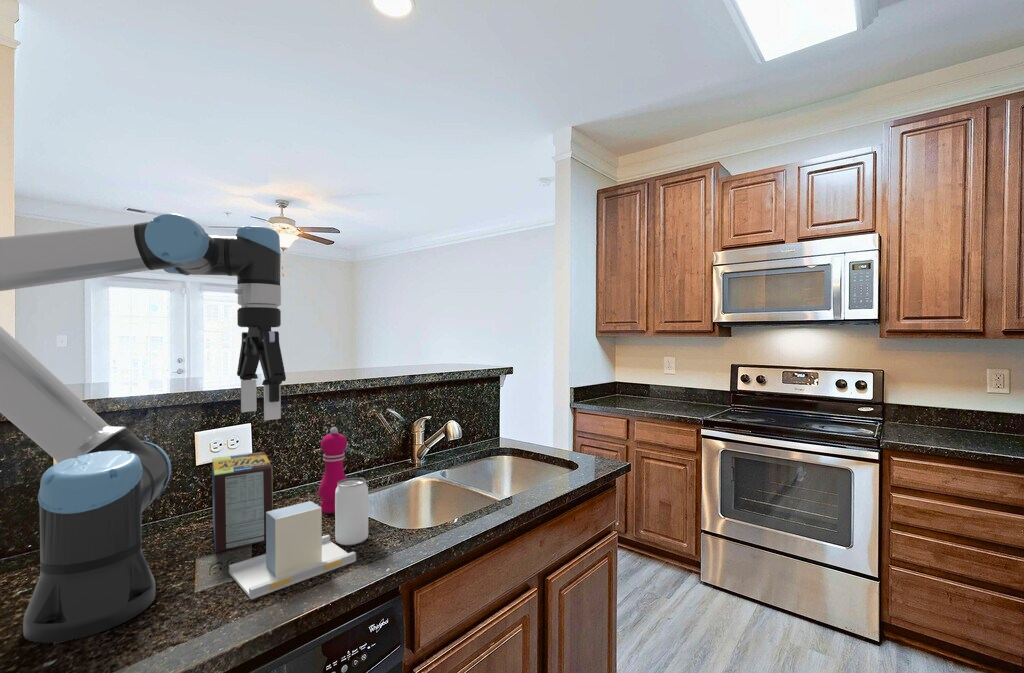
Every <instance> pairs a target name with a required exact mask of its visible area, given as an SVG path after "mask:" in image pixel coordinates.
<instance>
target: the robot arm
mask: <svg viewBox="0 0 1024 673" xmlns="http://www.w3.org/2000/svg"><path fill="white" fill-rule="evenodd" d="M280 242H281V241H280V235H279V233H278V232H277V231H276V230H275V229H273V228H269V227H265V226H259V225H242V226H239V227H238V228H237V230H236V234H235V236H222V235H209V234H208V233H206V231H205V229H204V228H203V227H202V226H201V225H200V224H199V223H197V222H196V221H194V220H193V219H191V218H189V217H187V216H185V215H182V214H178V213H162V214H160V215H158V216H156V217H153V218H152V219H151V220H150V221H147V222H146V221H145V222H138V223H137V222H136V223H127V224H121V225H120V224H118V225H110V226H109V225H108V226H107V225H106V226H98V227H89V228H88V227H87V228H80V229H69V230H59V231H49V232H40V233H30V234H20V235H12V236H11V235H10V236H2V237H0V292H4V291H5V292H6V291H10V290H19V289H24V288H25V289H26V288H32V287H33V288H34V287H40V286H48V285H54V284H62V283H68V282H75V281H83V280H90V279H91V280H92V279H97V278H104V277H112V276H119V275H124V274H125V275H126V274H134V273H141V272H149V271H156V270H163V271H164V272H166V273H168V274H175V275H176V274H178V275H183V276H191V275H194V276H197V275H198V276H199V275H200V276H228V277H236V278H237V282H236V283H237V288H235V289H234V290H233V291H234V294H236V295H237V304H238V305H239V306H240V307H239V308H238V309H237V312H236V313H237V315H236V316H237V318H236V319H237V323H236V324H237V326H238V327H240V328H248V331H242V332H241V344H240V350H239V352H240V353H239V357H238V358H239V359H238V365H237V371H236V375H237V377H239V378H240V412H241V413H249V412H257V410H258V409H257V407H258V406H257V405H258V403H257V400H258V399H257V379H259V377H258V374H257V370H258V366H259V363H260V366H261V370H262V374H263V377H264V379H263V381H262V383H261V385H262V386H263V420H264V421H271V420H279V419H282V412H281V411H282V409H281V408H282V407H281V406H282V404H281V402H282V400H281V398H282V397H281V395H282V390H281V388H282V387H281V386H282V384H283V382H286V380H287V377H286V372H285V366H284V359H283V356H282V351H281V344H280V333H279V331H276V330H275V331H272V328H279V327H281V325H282V322H281V321H282V320H281V318H282V317H281V316H282V314H281V313H282V312H281V311H282V310H280V308H278V307H280V306H281V305H282V286H281V262H282V261H281V243H280ZM0 413H1V415H2V416H3V417H5V418H6V419H7V420H8V421H10V422H11V423H12V424H13V425H14V426H15V427H17V429H19V430H20V431H21V432H23V434H24V435H26V436H27V437H28V438H29V439H31V441H33V442H34V443H35V444H36V445H37V446H39V447H40V448H41V449H42V450H43V451H44V452H45V453H47V454H48V455H49V456H50V457H51V458H52V459H53V460H55V461H56V463H55V464H53V465H51V466H50V467H48V469H46V470H45V471H44V472H43V474H42V476H41V478H40V483H39V486H40V487H39V489H38V494H37V501H38V506H39V507H38V508H39V509H38V511H39V557H40V558H39V561H40V562H39V563H40V564H39V565H40V567H39V568H40V571H39V572H40V573H39V577H38V580H37V582H36V586H35V587H34V590H33V593H32V596H31V598H30V600H29V603H28V605H27V608H26V610H25V613H24V615H23V621H22V622H23V624H22V625H23V627H22V631H23V632H22V633H23V634H22V635H23V637H24V639H25V640H27V639H28V640H27V641H29V640H30V641H29V642H31V641H34V642H33V643H36V642H48V643H47V644H55V643H54V642H56V643H62V641H64V642H68V641H69V640H70V641H73V639H75V640H78V638H79V639H82V637H83V638H87V637H90V636H92V635H95V634H99V633H102V632H105V631H107V630H110V629H113V628H115V627H118V626H119V625H121V624H123V623H126V622H128V621H130V620H131V619H133V618H135V617H137V616H138V615H139V614H141V613H143V612H144V611H145V610H147V609H148V608H149V607H150V606H151V605H152V603H153V602H154V601H155V598H156V595H157V594H156V590H157V589H156V588H157V587H156V579H155V577H154V576H153V573H152V570H151V569H150V566H149V564H148V561H147V560H146V558H145V555H144V553H143V549H142V548H143V546H142V545H143V544H142V536H143V535H142V514H143V512H144V511H145V510H146V509H147V508H148V507H149V506H150V505H151V504H152V503H153V502H154V501H156V500H157V499H158V498H159V497H161V495H162V494H163V492H164V490H165V489H166V488H167V485H168V483H169V481H170V478H171V475H172V464H171V460H170V458H169V455H168V453H166V452H165V450H164V449H163V448H161V446H159V445H158V444H156V443H153V442H148V441H145V440H141V439H140V438H139V437H137V436H136V435H135V434H134V433H133V432H132V431H131V430H130V429H129V428H127V427H126V426H112V425H110V424H109V423H107V422H106V421H105V419H103V418H102V417H101V416H99V415H98V414H97V412H95V411H94V410H93V409H92V408H91V407H90V406H88V404H86V403H85V402H84V400H82V399H81V398H80V397H78V396H77V394H76V393H74V392H73V391H72V390H71V389H70V388H69V387H68V386H67V385H66V384H64V382H63V381H61V379H59V378H58V377H57V376H56V375H55V374H54V373H53V372H52V371H51V370H49V369H48V367H46V366H45V365H44V364H42V362H41V361H39V359H37V358H36V357H35V356H33V354H32V353H31V352H29V351H28V350H27V349H26V348H25V347H24V346H23V345H22V344H21V343H19V341H18V340H16V339H15V337H13V336H12V335H11V334H10V333H9V332H8V331H7V330H6V329H4V327H3V326H1V325H0ZM70 641H69V642H70ZM49 642H51V643H49ZM52 642H53V643H52Z"/></svg>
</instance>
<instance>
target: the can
mask: <svg viewBox="0 0 1024 673" xmlns="http://www.w3.org/2000/svg"><path fill="white" fill-rule="evenodd" d="M366 482H367V481H366V479H365V478H363V477H348V478H347V479H344V480H341V481H339V482H338V483H337V484H338V486H337V488H336V491H335V513H334V514H335V515H334V516H335V518H334V519H335V520H334V521H335V524H334V527H335V528H334V529H335V530H334V531H335V532H334V534H335V535H334V536H335V543H337V544H338V545H340V546H347V547H348V546H357V545H359V544H362V543H364V542H366V540H367V539H368V537H369V487H368V484H367V483H366Z"/></svg>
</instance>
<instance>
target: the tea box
mask: <svg viewBox="0 0 1024 673" xmlns="http://www.w3.org/2000/svg"><path fill="white" fill-rule="evenodd" d="M322 513H323V512H322V510H321V505H318V504H316V503H315V502H313V501H312V500H309V501H305V502H300V503H297V504H293V505H289V506H284V507H279V508H276V509H273V510H272V511H268V512H266V543H265V545H266V546H265V549H266V550H265V552H266V553H265V554H266V567H267V568H268V569H269V571H270V572H271V573H272V574H273V575H274V576H275V577H278V576H281V575H284V574H287V573H290V572H293V571H295V570H298V569H301V568H304V567H307V566H310V565H313V564H316V563H319V562H322V536H323V535H322V532H323V530H322V529H323V528H322V527H323V526H322V525H323V524H322V522H323V521H322V518H323V517H322V515H323V514H322Z"/></svg>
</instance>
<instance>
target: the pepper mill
mask: <svg viewBox="0 0 1024 673" xmlns="http://www.w3.org/2000/svg"><path fill="white" fill-rule="evenodd" d="M329 432H330V433H328V434H325V436H323V437H322V439H321V442H320V449H321V450H322V451H323V455H322V456H323V458H322V460H323V461H324V465H325V466H324V474H323V476H322V479H321V481H320V483H319V487H318V491H317V492H318V493H317V494H318V496H319V498H320V499H321V502H320V507H321V510H322V513H324V514H335V491H336V488H337V486H338V484H337V483H338V482H339V481H341V480H344V479H348V478H347V477H346V474H345V471H344V459H345V458H346V457H345V454H346V453H345V450H346V449H347V446H348V441H347V438H346V436H345V435H344V434H341V433H338V432H339V430H338V428H337V427H336V426H333V427H331V428H330V429H329Z"/></svg>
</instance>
